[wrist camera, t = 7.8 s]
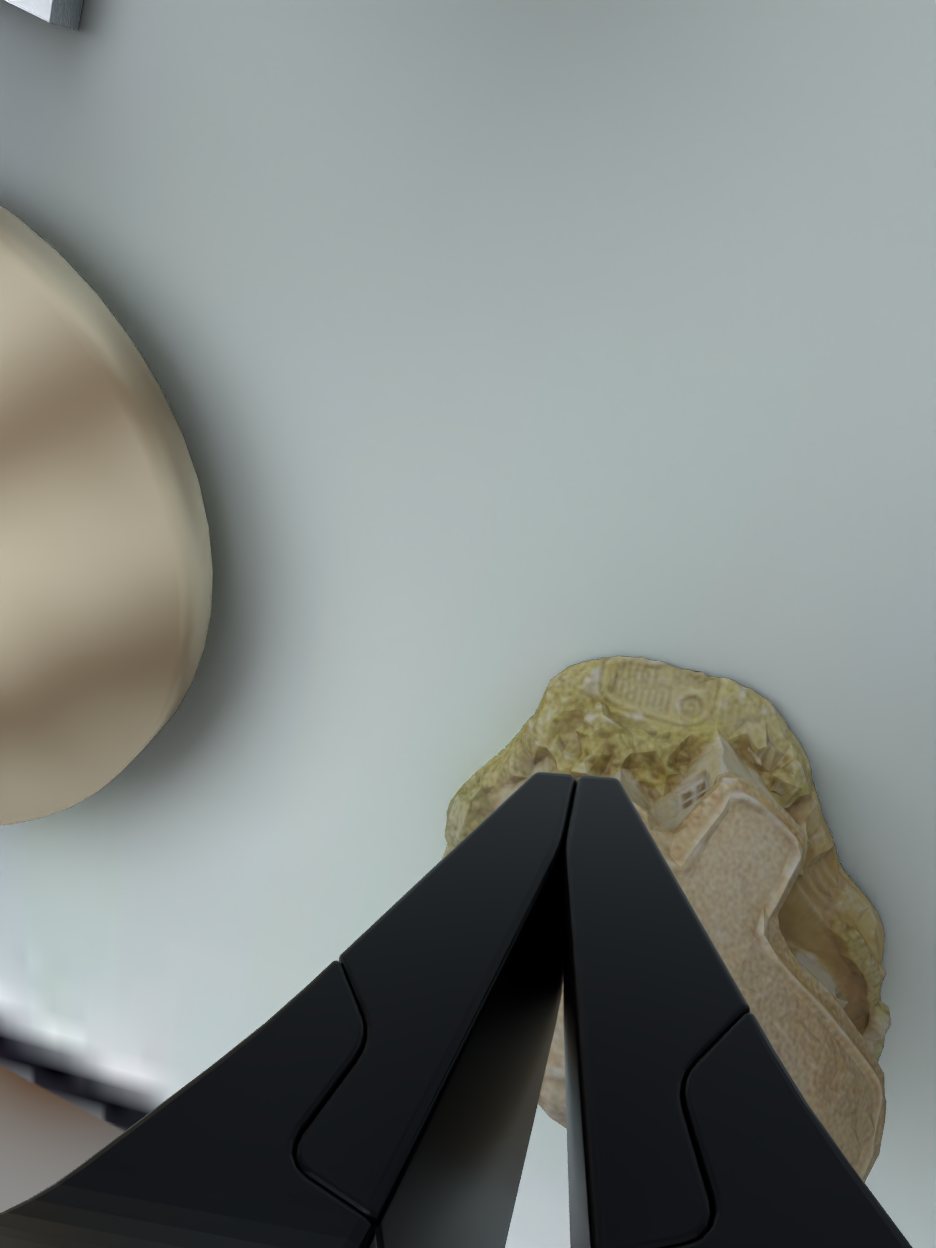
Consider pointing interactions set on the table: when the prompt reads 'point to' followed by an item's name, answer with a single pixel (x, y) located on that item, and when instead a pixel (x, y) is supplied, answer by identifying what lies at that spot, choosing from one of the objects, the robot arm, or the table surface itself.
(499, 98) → the table surface
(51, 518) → the disc
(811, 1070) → the ceramic model
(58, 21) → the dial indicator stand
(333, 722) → the table surface
